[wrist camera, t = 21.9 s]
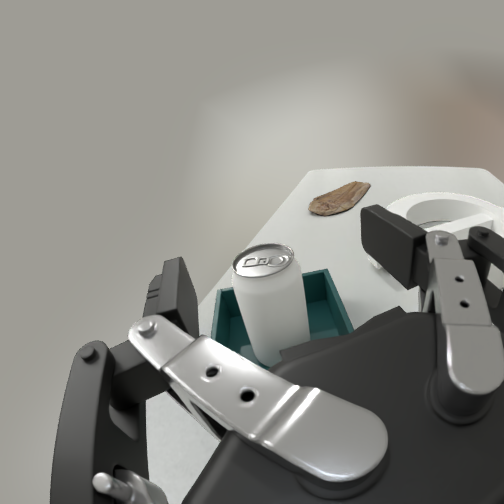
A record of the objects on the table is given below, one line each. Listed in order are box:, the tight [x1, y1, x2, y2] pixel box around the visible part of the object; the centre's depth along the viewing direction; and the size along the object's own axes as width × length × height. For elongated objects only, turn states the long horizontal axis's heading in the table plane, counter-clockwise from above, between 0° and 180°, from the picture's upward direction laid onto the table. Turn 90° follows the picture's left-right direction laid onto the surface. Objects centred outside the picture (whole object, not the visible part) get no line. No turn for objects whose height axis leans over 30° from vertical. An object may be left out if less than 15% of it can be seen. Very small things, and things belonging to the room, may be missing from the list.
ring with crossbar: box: [368, 192, 504, 289], centre depth 39 cm, size 28×28×5 cm
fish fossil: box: [308, 181, 371, 216], centre depth 69 cm, size 26×10×1 cm, turn 141°
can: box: [232, 243, 310, 367], centre depth 28 cm, size 6×6×12 cm
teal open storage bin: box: [211, 269, 354, 370], centre depth 30 cm, size 14×14×5 cm
